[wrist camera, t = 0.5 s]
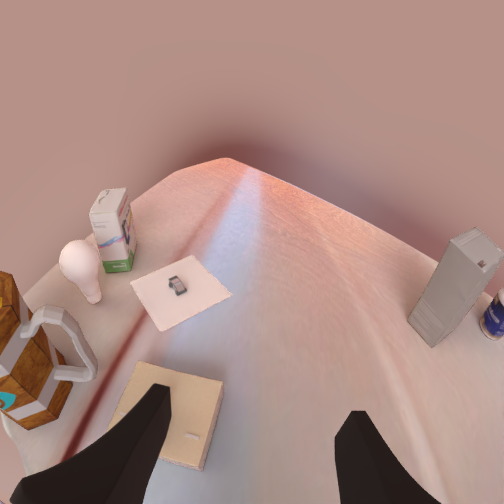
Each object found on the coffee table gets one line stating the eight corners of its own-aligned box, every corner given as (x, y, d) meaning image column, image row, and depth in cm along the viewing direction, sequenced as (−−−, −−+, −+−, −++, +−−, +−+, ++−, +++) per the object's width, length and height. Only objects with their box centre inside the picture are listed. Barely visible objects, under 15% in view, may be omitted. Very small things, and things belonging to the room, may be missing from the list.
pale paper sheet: (160, 332, 37) (158, 325, 36) (129, 282, 45) (127, 275, 44) (232, 295, 43) (232, 288, 43) (192, 254, 51) (191, 247, 50)
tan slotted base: (199, 482, 22) (194, 478, 20) (111, 452, 23) (99, 444, 21) (224, 392, 31) (222, 380, 29) (145, 372, 32) (138, 359, 30)
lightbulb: (72, 309, 39) (45, 253, 32) (92, 284, 44) (72, 228, 37) (100, 320, 38) (73, 262, 31) (120, 292, 43) (101, 234, 36)
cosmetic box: (433, 302, 42) (472, 222, 32) (460, 330, 37) (509, 251, 27) (403, 321, 39) (445, 233, 30) (432, 353, 34) (488, 269, 24)
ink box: (114, 244, 53) (100, 189, 45) (139, 242, 53) (127, 185, 46) (105, 274, 46) (85, 214, 39) (132, 271, 47) (116, 210, 39)
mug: (-7, 425, 21) (-80, 358, 12) (8, 347, 31) (-42, 273, 22) (116, 434, 25) (48, 365, 16) (115, 340, 36) (76, 252, 26)
